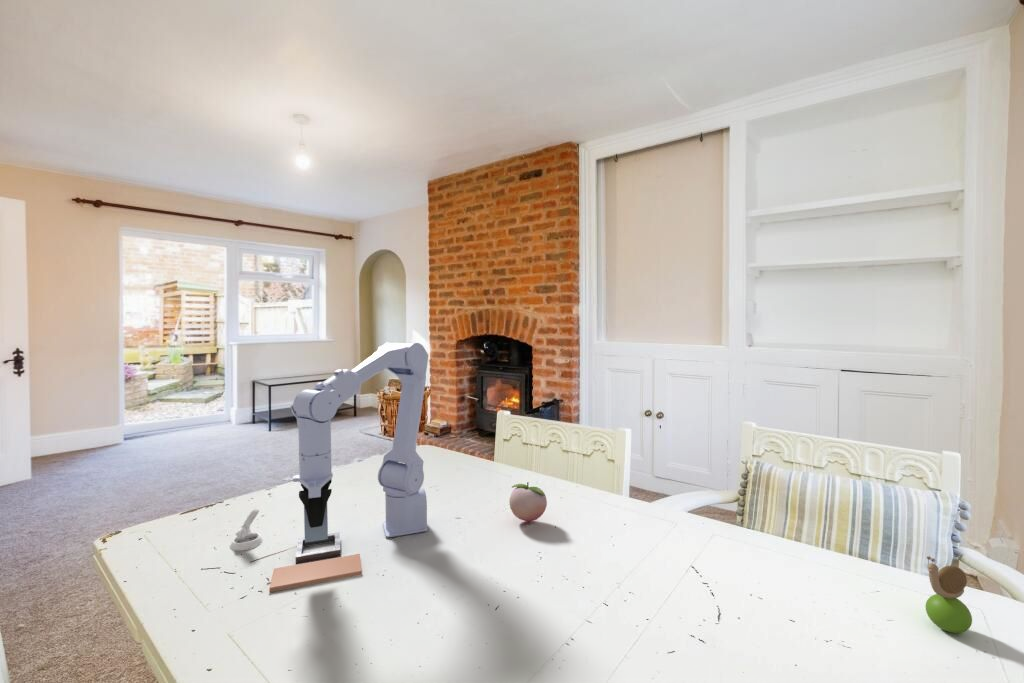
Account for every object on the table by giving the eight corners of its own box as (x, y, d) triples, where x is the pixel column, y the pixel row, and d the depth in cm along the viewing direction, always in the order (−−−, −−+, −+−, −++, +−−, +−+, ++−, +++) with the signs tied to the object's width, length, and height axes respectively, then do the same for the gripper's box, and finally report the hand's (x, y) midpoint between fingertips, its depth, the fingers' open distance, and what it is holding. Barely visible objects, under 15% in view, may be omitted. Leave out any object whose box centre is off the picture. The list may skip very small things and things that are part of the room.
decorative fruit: (503, 526, 111) (502, 485, 111) (515, 513, 119) (515, 474, 118) (540, 533, 108) (540, 491, 107) (550, 519, 115) (551, 479, 115)
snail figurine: (910, 619, 77) (913, 548, 76) (945, 617, 77) (948, 547, 77) (943, 642, 71) (946, 566, 71) (981, 640, 72) (985, 564, 71)
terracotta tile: (359, 557, 97) (359, 553, 97) (361, 574, 90) (361, 570, 90) (273, 572, 91) (273, 568, 91) (269, 592, 84) (269, 587, 84)
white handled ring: (270, 531, 99) (244, 519, 98) (247, 565, 101) (221, 553, 99) (281, 513, 105) (257, 501, 104) (259, 545, 107) (235, 533, 105)
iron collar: (339, 538, 105) (339, 532, 105) (340, 556, 97) (340, 549, 97) (298, 545, 102) (298, 538, 102) (295, 564, 94) (295, 557, 94)
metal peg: (327, 530, 93) (327, 490, 92) (327, 539, 89) (326, 498, 89) (305, 533, 91) (305, 493, 91) (304, 542, 88) (303, 501, 87)
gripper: (295, 444, 95) (296, 509, 95) (289, 465, 81) (290, 541, 82) (332, 441, 97) (333, 505, 98) (332, 461, 84) (333, 534, 84)
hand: (316, 521), depth 90 cm, fingers closed on metal peg, 4 cm apart
